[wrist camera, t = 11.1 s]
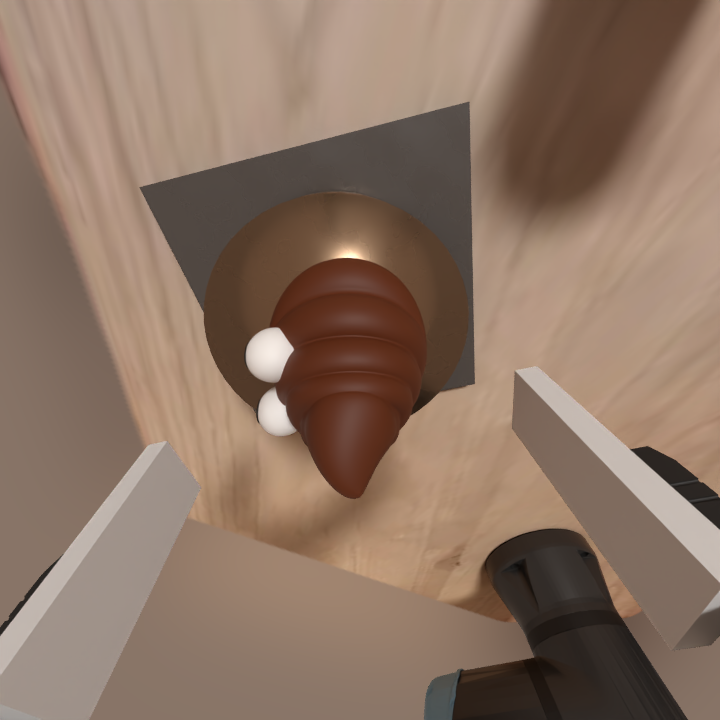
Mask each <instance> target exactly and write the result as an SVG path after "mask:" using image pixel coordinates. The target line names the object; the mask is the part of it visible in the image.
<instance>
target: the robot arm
mask: <svg viewBox="0 0 720 720" xmlns="http://www.w3.org/2000/svg"><path fill="white" fill-rule="evenodd" d="M512 429H513V430H514V432H515V433H516V434H517V436H518V437H519V439H520V440H521V441H522V443H523V444H524V446H525V447H526V448H527V450H528V451H529V453H530V454H531V455H532V457H533V458H534V459H535V461H536V462H537V464H538V465H539V466H540V468H541V469H542V471H543V472H544V473H545V475H546V476H547V478H548V479H549V480H550V482H551V483H552V485H553V486H554V487H555V489H556V490H557V492H558V493H559V494H560V496H561V497H562V499H563V500H564V501H565V503H566V504H567V506H568V507H569V508H570V510H571V511H572V513H573V514H574V515H575V517H576V518H577V519H578V521H579V522H580V524H581V525H582V526H583V528H584V529H585V531H586V532H587V533H588V535H589V536H590V538H591V539H592V540H593V542H594V543H595V545H596V546H597V547H598V549H599V550H600V552H601V553H602V554H603V556H604V557H605V559H606V560H607V561H608V563H609V564H610V566H611V567H612V568H613V570H614V571H615V572H616V574H617V575H618V577H619V578H620V579H621V581H622V582H623V584H624V585H625V586H626V588H627V589H628V591H629V592H630V593H631V595H632V596H633V598H634V599H635V600H636V602H637V603H638V605H639V606H640V607H641V609H642V610H643V612H644V613H645V614H646V616H647V617H648V618H649V620H650V621H651V622H652V624H653V625H654V627H655V628H656V630H657V631H658V632H659V634H660V635H661V637H662V638H663V639H664V641H665V642H666V644H667V645H668V646H669V648H670V649H671V650H672V651H673V650H680V649H688V648H695V647H701V646H709V645H712V643H713V642H714V641H715V640H716V639H717V638H718V637H719V636H720V498H719V497H718V494H717V493H715V492H714V491H713V490H712V489H710V488H709V487H708V486H707V485H705V484H704V483H703V482H702V483H701V482H699V481H698V478H697V477H696V476H694V475H693V474H692V473H691V472H689V471H688V470H687V469H686V468H684V467H683V466H682V465H681V464H679V463H678V462H677V461H676V460H674V459H672V458H670V457H668V456H666V455H664V454H662V453H660V452H658V451H656V450H654V449H652V448H650V447H648V446H646V447H641V448H635V449H629V448H628V447H627V446H626V445H624V444H623V443H622V442H621V441H620V440H619V439H618V438H617V437H615V436H614V435H613V434H612V433H611V432H610V431H609V430H608V429H607V428H605V427H604V426H603V425H602V424H601V423H600V422H599V421H598V420H596V419H595V418H594V417H593V416H592V415H591V414H590V413H589V412H588V411H586V410H585V409H584V408H583V407H582V406H581V405H580V404H579V403H577V402H576V401H575V400H574V399H573V398H572V397H571V396H570V395H569V394H567V393H566V392H565V391H564V390H563V389H562V388H561V387H560V386H558V385H557V384H556V383H555V382H554V381H553V380H552V379H551V378H550V377H548V376H547V375H546V374H545V373H544V372H543V371H542V370H541V369H539V368H538V367H537V366H535V367H530V368H525V369H520V370H515V378H514V398H513V417H512ZM200 489H201V486H200V485H199V484H198V482H197V481H196V480H195V478H194V477H193V475H192V474H191V473H190V471H189V470H188V469H187V467H186V466H185V464H184V463H183V462H182V460H181V459H180V458H179V456H178V455H177V454H176V452H175V451H174V449H173V448H172V447H171V445H170V444H169V443H168V441H165V442H160V443H155V444H150V445H148V446H147V447H146V449H145V450H144V451H143V453H142V454H141V455H140V456H139V458H138V459H137V460H136V462H135V463H134V464H133V465H132V467H131V468H130V469H129V471H128V472H127V473H126V475H125V476H124V477H123V478H122V480H121V481H120V482H119V484H118V485H117V486H116V487H115V489H114V490H113V491H112V493H111V494H110V495H109V497H108V498H107V499H106V500H105V502H104V503H103V504H102V506H101V507H100V508H99V509H98V511H97V512H96V513H95V515H94V516H93V517H92V518H91V520H90V521H89V522H88V524H87V525H86V526H85V527H84V529H83V530H82V531H81V533H80V534H79V535H78V537H77V538H76V539H75V540H74V542H73V543H72V544H71V546H70V547H69V548H68V549H67V551H66V552H65V553H64V554H63V555H62V556H61V557H60V558H59V559H58V560H57V561H56V562H54V563H53V564H52V565H51V566H50V567H49V568H48V569H47V570H46V571H45V572H44V573H43V574H42V575H41V576H40V577H39V579H38V580H37V581H36V583H35V584H34V585H33V586H32V588H31V589H30V590H29V591H28V593H27V594H26V595H25V599H24V600H23V601H21V602H20V603H19V604H18V605H17V607H16V608H15V609H14V610H13V612H12V613H11V614H10V615H9V620H8V621H5V622H4V623H3V625H2V626H1V627H0V720H89V718H90V716H91V714H92V712H93V710H94V708H95V706H96V704H97V702H98V700H99V698H100V696H101V694H102V692H103V689H104V687H105V685H106V683H107V681H108V679H109V677H110V675H111V673H112V671H113V669H114V667H115V665H116V663H117V660H118V658H119V656H120V654H121V652H122V650H123V648H124V646H125V644H126V642H127V640H128V638H129V635H130V634H131V632H132V630H133V627H134V625H135V623H136V621H137V619H138V617H139V615H140V613H141V611H142V609H143V607H144V605H145V603H146V601H147V598H148V596H149V594H150V592H151V590H152V588H153V586H154V584H155V582H156V580H157V578H158V576H159V574H160V572H161V569H162V567H163V565H164V563H165V561H166V559H167V557H168V555H169V553H170V551H171V549H172V547H173V545H174V543H175V540H176V538H177V536H178V534H179V532H180V530H181V528H182V526H183V524H184V522H185V520H186V518H187V516H188V514H189V512H190V510H191V508H192V505H193V503H194V501H195V499H196V497H197V495H198V493H199V491H200ZM486 571H487V573H488V576H489V578H490V581H491V584H492V586H493V588H494V589H495V591H496V592H497V594H498V595H499V596H500V598H501V599H502V601H503V602H504V604H505V605H506V606H507V608H508V609H509V611H510V612H511V614H512V615H513V617H514V618H515V619H516V621H517V622H518V624H519V625H520V627H521V628H522V630H523V631H524V633H525V636H526V638H527V640H528V643H529V645H530V647H531V650H532V652H533V655H534V658H531V659H525V660H520V661H515V662H509V663H503V664H498V665H492V666H487V667H481V668H475V669H470V670H463V669H458V670H457V672H455V673H451V674H447V675H443V676H440V677H437V678H435V679H434V680H432V682H431V683H430V685H429V686H428V689H427V693H426V699H425V709H424V720H688V719H687V718H686V716H685V715H684V713H683V712H682V710H681V708H680V707H679V705H678V704H677V702H676V701H675V699H674V698H673V696H672V695H671V693H670V692H669V690H668V689H667V687H666V685H665V684H664V682H663V681H662V679H661V678H660V676H659V675H658V673H657V672H656V670H655V669H654V667H653V666H652V664H651V663H650V661H649V659H648V658H647V656H646V655H645V653H644V652H643V651H642V649H641V647H640V646H639V644H638V643H637V641H636V640H635V638H634V637H633V635H632V633H631V632H630V631H629V629H628V627H627V626H626V624H625V623H624V621H623V620H622V618H621V617H620V615H619V613H618V612H617V610H616V609H615V607H614V605H613V602H612V599H611V596H610V593H609V590H608V587H607V585H606V582H605V579H604V576H603V573H602V570H601V568H600V565H599V562H598V559H597V556H596V555H595V553H594V551H593V550H592V548H591V547H590V545H589V544H588V542H587V541H586V539H585V538H584V537H583V536H582V535H580V534H579V533H576V532H574V531H570V530H563V529H550V530H542V531H536V532H532V533H528V534H525V535H522V536H519V537H517V538H514V539H512V540H510V541H508V542H506V543H505V544H503V545H501V546H500V547H499V548H497V549H496V550H495V551H494V552H493V553H492V554H491V555H490V556H489V558H488V560H487V562H486Z"/></svg>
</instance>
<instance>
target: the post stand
mask: <svg viewBox="0 0 720 720" xmlns="http://www.w3.org/2000/svg"><path fill="white" fill-rule="evenodd" d="M140 189H141V191H142V193H143V195H144V197H145V199H146V201H147V203H148V205H149V207H150V209H151V211H152V213H153V215H154V216H155V218H156V220H157V222H158V224H159V226H160V228H161V230H162V232H163V234H164V236H165V238H166V240H167V242H168V244H169V246H170V248H171V249H172V251H173V253H174V255H175V257H176V259H177V261H178V263H179V265H180V267H181V269H182V271H183V273H184V275H185V277H186V279H187V281H188V283H189V284H190V286H191V288H192V290H193V292H194V294H195V296H196V298H197V300H198V302H199V304H200V306H201V308H202V310H203V312H204V326H205V332H206V338H207V341H208V345H209V348H210V351H211V354H212V356H213V358H214V361H215V363H216V365H217V367H218V369H219V370H220V372H221V373H222V375H223V377H224V378H225V380H226V381H227V382H228V384H229V385H230V386H231V387H232V389H233V390H234V391H235V392H236V393H237V394H238V395H239V396H240V397H241V398H242V399H243V400H244V401H245V402H246V403H248V404H249V405H250V406H252V407H253V409H254V411H255V413H256V411H257V405H258V402H259V400H260V398H262V397H263V395H264V394H265V393H266V392H267V391H268V390H270V389H271V388H273V387H275V384H274V383H271V382H265V381H262V380H260V379H258V378H257V377H255V376H254V375H253V374H252V373H251V372H250V370H249V369H248V368H247V367H246V365H245V362H244V351H245V347H246V345H247V343H248V342H249V341H250V340H251V339H252V338H253V337H254V336H255V335H256V334H257V333H259V332H260V331H262V330H264V329H268V328H269V326H270V322H271V318H272V315H273V312H274V309H275V307H276V305H277V303H278V301H279V299H280V297H281V295H282V294H283V292H284V291H285V289H286V288H287V287H288V285H289V284H290V283H291V282H292V281H293V280H294V279H295V278H296V277H297V276H298V275H299V274H301V273H302V272H303V271H305V270H306V269H308V268H309V267H311V266H313V265H315V264H318V263H320V262H323V261H326V260H330V259H336V258H358V259H363V260H367V261H371V262H373V263H376V264H378V265H380V266H382V267H384V268H386V269H387V270H389V271H390V272H392V273H393V274H394V275H395V276H397V277H398V278H399V279H400V280H401V281H402V282H403V284H404V285H405V286H406V287H407V289H408V290H409V291H410V293H411V294H412V296H413V298H414V299H415V301H416V303H417V306H418V308H419V310H420V313H421V316H422V319H423V323H424V327H425V332H426V341H427V359H426V366H425V370H424V374H423V377H422V379H421V389H420V393H419V396H418V398H417V401H416V402H415V404H414V406H413V407H412V412H411V415H412V414H414V413H415V412H417V411H418V410H420V409H421V408H422V407H423V406H425V405H426V404H427V403H428V402H429V401H431V400H432V399H433V398H434V397H435V396H436V395H437V394H438V393H439V391H442V390H447V389H452V388H457V387H462V386H467V385H472V384H475V373H474V320H473V268H472V215H471V162H470V110H469V102H466V103H462V104H459V105H455V106H451V107H447V108H443V109H439V110H435V111H432V112H428V113H424V114H420V115H416V116H412V117H409V118H405V119H401V120H397V121H393V122H389V123H385V124H382V125H378V126H374V127H370V128H366V129H362V130H358V131H355V132H351V133H347V134H343V135H339V136H335V137H332V138H328V139H324V140H320V141H316V142H312V143H308V144H305V145H301V146H297V147H293V148H289V149H285V150H281V151H278V152H274V153H270V154H266V155H262V156H258V157H255V158H251V159H247V160H243V161H239V162H235V163H231V164H228V165H224V166H220V167H216V168H212V169H208V170H204V171H201V172H197V173H193V174H189V175H185V176H181V177H178V178H174V179H170V180H166V181H162V182H158V183H154V184H151V185H147V186H143V187H140Z"/></svg>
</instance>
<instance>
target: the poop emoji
mask: <svg viewBox="0 0 720 720" xmlns="http://www.w3.org/2000/svg"><path fill="white" fill-rule="evenodd" d="M426 359H427V341H426V332H425V327H424V323H423V319H422V316H421V313H420V310H419V308H418V306H417V303H416V301H415V299H414V298H413V296H412V294H411V293H410V291H409V290H408V289H407V287H406V286H405V285H404V284H403V282H402V281H401V280H400V279H399V278H398V277H397V276H395V275H394V274H393V273H392V272H390V271H389V270H387V269H386V268H384V267H382V266H380V265H378V264H376V263H373V262H371V261H367V260H363V259H358V258H336V259H330V260H326V261H323V262H320V263H318V264H315V265H313V266H311V267H309V268H308V269H306V270H305V271H303V272H302V273H301V274H299V275H298V276H297V277H296V278H295V279H294V280H293V281H292V282H291V283H290V284H289V285H288V287H287V288H286V289H285V291H284V292H283V294H282V295H281V297H280V299H279V301H278V303H277V305H276V307H275V309H274V312H273V315H272V318H271V322H270V326H269V328H268V329H264V330H262V331H260V332H259V333H257V334H256V335H255V336H254V337H253V338H252V339H251V340H250V341H249V342H248V343H247V345H246V347H245V351H244V362H245V365H246V367H247V368H248V369H249V370H250V372H251V373H252V374H253V375H254V376H255V377H257V378H258V379H260V380H262V381H265V382H271V383H274V384H275V387H273V388H271V389H270V390H268V391H267V392H266V393H265V394H264V395H263V397H262V398H260V400H259V402H258V405H257V411H256V416H257V421H258V423H259V424H260V425H261V426H262V428H263V429H264V430H265V431H266V432H268V433H269V434H271V435H274V436H288V435H291V434H293V433H295V432H296V431H298V432H299V433H300V434H301V436H302V439H303V441H304V443H305V444H306V446H308V448H309V451H310V453H311V456H312V458H313V460H314V462H315V464H316V466H317V468H318V469H319V471H320V472H321V474H322V475H323V477H324V478H325V479H326V481H327V482H328V483H329V484H330V485H331V486H332V487H333V488H334V489H335V490H336V491H337V492H338V493H340V494H341V495H343V496H345V497H347V498H351V499H356V498H359V497H361V496H362V494H363V492H364V491H365V489H366V487H367V485H368V482H369V480H370V478H371V476H372V474H373V472H374V470H375V468H376V467H377V465H378V463H379V461H380V460H381V458H382V457H383V456H384V454H385V453H386V452H387V450H388V449H389V447H390V446H391V445H392V444H393V443H394V442H395V441H396V439H397V437H398V435H399V430H400V429H401V428H402V427H403V426H404V425H405V423H406V422H407V420H408V419H409V417H410V415H411V412H412V407H413V406H414V404H415V402H416V401H417V398H418V396H419V393H420V389H421V379H422V377H423V374H424V370H425V366H426Z"/></svg>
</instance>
